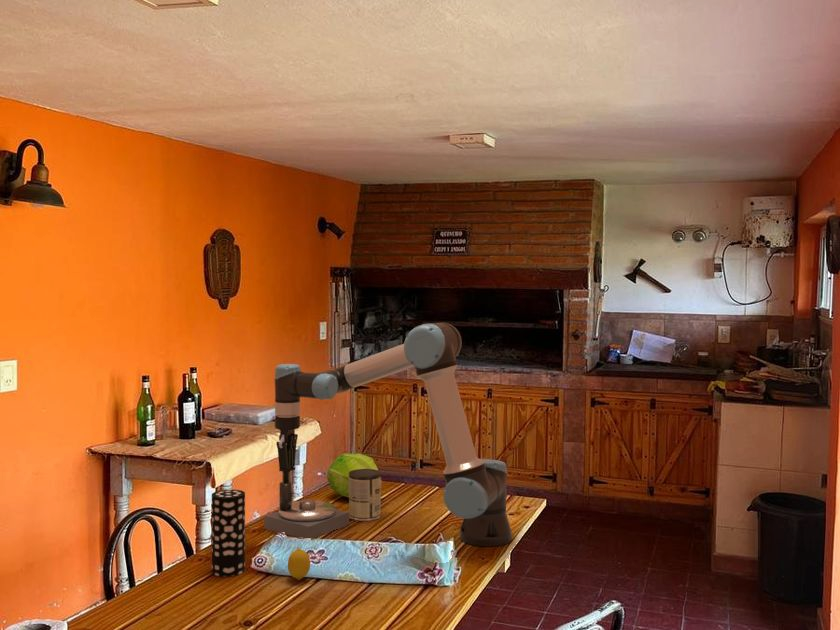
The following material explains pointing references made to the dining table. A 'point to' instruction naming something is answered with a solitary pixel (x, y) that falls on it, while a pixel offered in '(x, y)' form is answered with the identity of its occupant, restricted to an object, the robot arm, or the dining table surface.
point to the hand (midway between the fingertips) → (287, 491)
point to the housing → (306, 524)
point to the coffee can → (364, 494)
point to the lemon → (298, 564)
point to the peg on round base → (302, 506)
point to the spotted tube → (228, 532)
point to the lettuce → (347, 470)
